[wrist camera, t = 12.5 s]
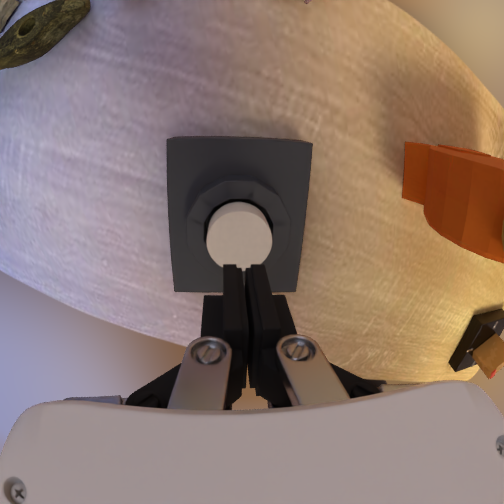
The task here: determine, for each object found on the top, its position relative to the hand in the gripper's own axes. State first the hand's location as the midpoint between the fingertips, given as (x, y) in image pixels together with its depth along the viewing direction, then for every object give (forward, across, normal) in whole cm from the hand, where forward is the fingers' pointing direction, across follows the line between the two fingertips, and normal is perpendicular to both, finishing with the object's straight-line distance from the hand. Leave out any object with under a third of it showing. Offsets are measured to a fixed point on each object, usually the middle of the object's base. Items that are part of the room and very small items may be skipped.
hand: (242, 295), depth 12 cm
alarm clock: (+13, -20, -5) cm, 24 cm away
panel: (+12, -40, +19) cm, 46 cm away
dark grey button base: (+13, 0, 0) cm, 13 cm away
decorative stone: (+9, +18, -15) cm, 25 cm away
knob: (+10, -40, +19) cm, 46 cm away
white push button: (+8, 0, 0) cm, 8 cm away
